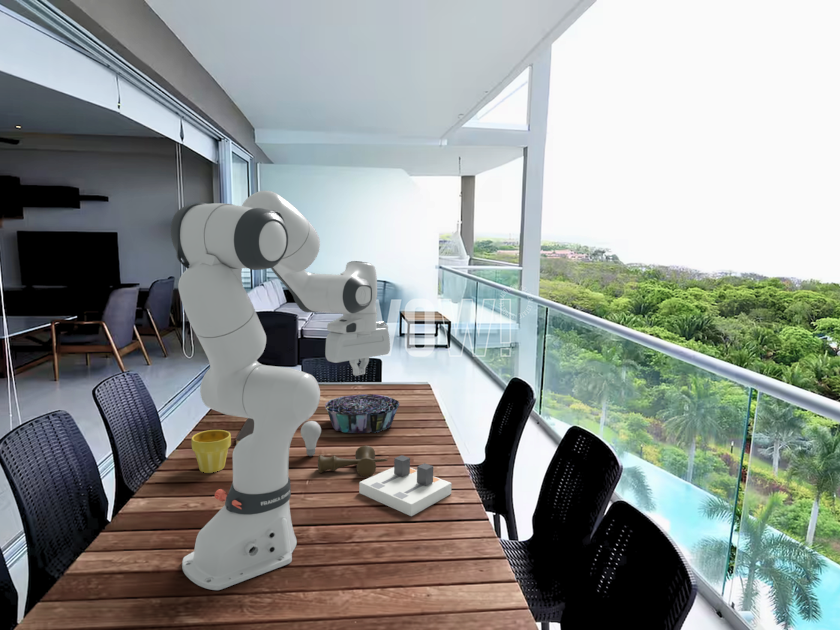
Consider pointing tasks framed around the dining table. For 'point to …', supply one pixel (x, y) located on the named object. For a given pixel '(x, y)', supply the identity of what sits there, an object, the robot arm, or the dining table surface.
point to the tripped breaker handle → (425, 474)
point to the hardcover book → (246, 430)
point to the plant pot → (211, 449)
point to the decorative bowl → (362, 413)
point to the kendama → (352, 461)
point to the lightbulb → (310, 436)
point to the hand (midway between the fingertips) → (359, 374)
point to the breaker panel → (404, 491)
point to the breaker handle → (402, 466)
